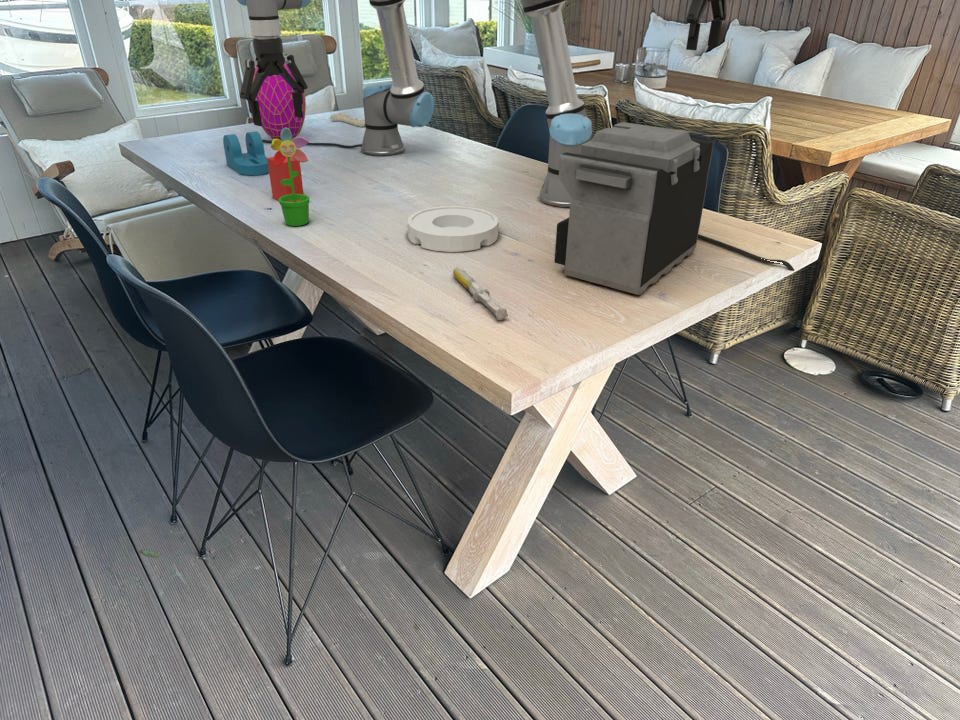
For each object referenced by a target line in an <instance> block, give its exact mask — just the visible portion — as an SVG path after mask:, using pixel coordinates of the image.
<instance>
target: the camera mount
mask: <svg viewBox="0 0 960 720" xmlns="http://www.w3.org/2000/svg"><path fill="white" fill-rule="evenodd" d="M222 140H223V141H222V143H223V149H224V150H223V151H224V156H225V161H226V165H227V166H228V167H230V168H231V169H232V170H234V171H236V172H237V173H238V174H239V175H244V176H260V175H265V174H269V169H268V162H267V158H268V157H267V156H266V153H265V145H264V142H263V141H262V140H263V139H262V136H261V134H260V132H258V131H247V132H246V133H245V146H246V152H243V151H242V150H243V149H242V146H241V142H240V140H239V138H238V135H236V134H235V133H231V134H224V135H223V138H222Z"/></svg>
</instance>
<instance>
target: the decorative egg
mask: <svg viewBox="0 0 960 720" xmlns="http://www.w3.org/2000/svg"><path fill="white" fill-rule="evenodd" d="M283 66H284V68H285V69H286V70H287V71H288V73H289V74H290V75H291V77H292V78H293V79H294V77H293V75H292V73H291V72H290V70H289V68H288V66H287V64H286V63H284V65H283ZM257 70H258V67H257V66H256V68H255V73H254V78H253V81H254V79H255V77H256V72H257ZM294 80H295V79H294ZM252 83H253V82H252ZM292 92H295V91H294V90H293V89H292V88H291V86H290V85H289V84H288V83H287V82H286V81H285V80H284V79H283V78H282V76H281V75H273V76H267V78H266V79H265V80H264V82H263V84H262V86H261V88H260V90H259V93H258V95H257V97H256V99H255V100H257V101H258V103H259V109H260V115H261V121H262V126H260V127H261V128H262V130H263V131H264V133H266V135H267V136H268V137H270V138H271V139H272V140H273V139H279V140H281V136H280V134H281V131H282V130H283V129H284V128H288V129H289V130H290V131H291V134H292V139H293V138H295V137H298V136H299V134H301V131H302V129H303V127H304V123H305V118H306V104H307V103H306V102H307V101H306V99H307V97H306V93H305V91H304V93H302V97H303V104H301V105H302V112H303V118H299V117H295V112H294V104H293V97H292ZM281 141H282V140H281Z"/></svg>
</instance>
